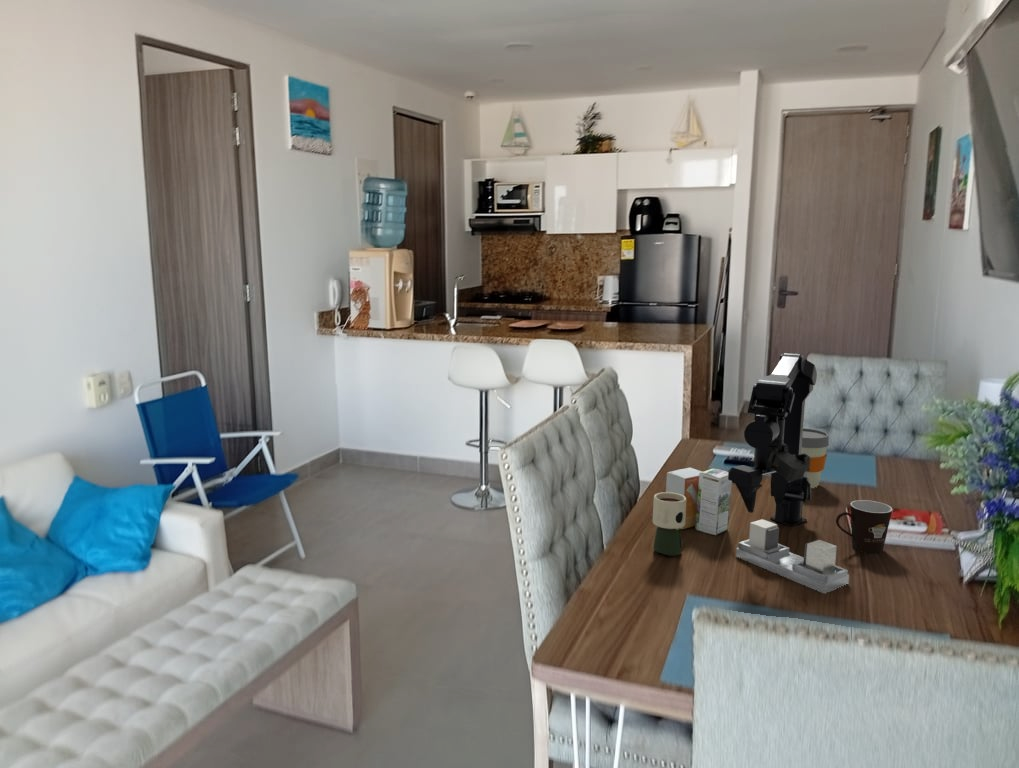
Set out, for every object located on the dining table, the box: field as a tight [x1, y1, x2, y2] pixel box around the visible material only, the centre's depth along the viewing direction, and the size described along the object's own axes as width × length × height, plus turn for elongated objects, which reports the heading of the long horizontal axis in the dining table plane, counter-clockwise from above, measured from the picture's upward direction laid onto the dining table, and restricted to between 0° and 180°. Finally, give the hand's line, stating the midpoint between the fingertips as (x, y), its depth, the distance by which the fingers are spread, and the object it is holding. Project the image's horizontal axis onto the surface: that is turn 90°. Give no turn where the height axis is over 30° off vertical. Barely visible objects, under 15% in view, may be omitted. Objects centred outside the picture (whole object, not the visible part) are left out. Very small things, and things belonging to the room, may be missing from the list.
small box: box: [665, 466, 703, 530], centre depth 191 cm, size 8×6×13 cm
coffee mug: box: [835, 499, 893, 554], centre depth 177 cm, size 12×9×10 cm
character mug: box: [652, 491, 686, 557], centre depth 173 cm, size 11×7×13 cm, turn 152°
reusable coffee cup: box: [801, 427, 830, 489], centre depth 223 cm, size 12×13×15 cm
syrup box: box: [694, 468, 733, 536], centre depth 186 cm, size 6×6×14 cm
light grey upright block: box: [748, 519, 780, 553], centre depth 170 cm, size 4×5×6 cm
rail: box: [735, 538, 850, 595], centre depth 164 cm, size 8×22×8 cm, turn 34°
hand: (764, 508), depth 169 cm, fingers open, 9 cm apart
